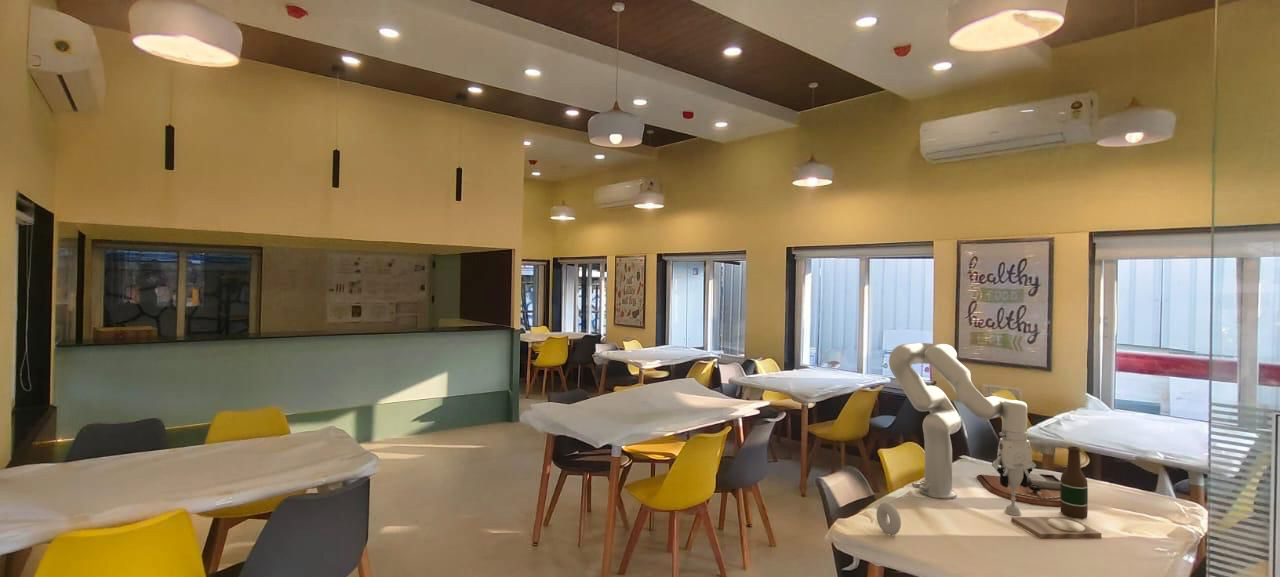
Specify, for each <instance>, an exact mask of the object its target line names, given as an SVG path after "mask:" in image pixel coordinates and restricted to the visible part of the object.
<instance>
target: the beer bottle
mask: <svg viewBox="0 0 1280 577" xmlns="http://www.w3.org/2000/svg"><path fill="white" fill-rule="evenodd" d="M1067 450H1068V452H1067V453H1068V454H1067V463H1066V464H1067V465H1066V469H1065V470H1064V471H1063V472H1062V473H1061V476H1060V480H1061V481H1060V507H1059V508H1060V513H1061V514H1062V515H1063V517H1070V518H1072V519H1074V520H1075V519H1076V520H1078V519H1079V520H1084V519H1085V520H1086V519H1087V518H1088V507H1089V506H1088V503H1089V502H1088V501H1089V499H1088V496H1089V494H1088V493H1089V492H1088V488H1089V486H1088V485H1089V484H1088V480H1087V477H1086V476H1085V474H1084V472H1083V471H1082V468H1081V467H1082V466H1081V448H1080V447H1078V446H1075V445H1074V446H1067Z"/></svg>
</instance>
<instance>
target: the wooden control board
mask: <svg viewBox="0 0 1280 577" xmlns="http://www.w3.org/2000/svg"><path fill="white" fill-rule="evenodd" d="M976 479H977V480H978V481H979V483H980V484H981V485H982V486H983V487H984V488H985V489H986V490H987V491H989V492H990V493H992V494H993V495H995V496H998V497H1000V498H1003V499H1006V500H1010V501H1011V499H1010V498H1011V497H1012V495H1011V492H1012V488H1010V487H1009V486H1008V487H1004V486H1002V485H1001V484H1000V475H990V474H989V475H987V474H978V475H976ZM1060 481H1061V479H1059V478H1058V477H1057V476H1056V475H1054V474H1046V473H1044V474H1043V473H1034V472H1030V473H1029V476H1027V487H1023V486H1021V485H1019V487H1018V488H1016V489H1015V494H1016V495H1015V499H1016V500H1015V502H1017V503H1021V504H1027V505H1032V506H1040V507H1050V508H1060Z"/></svg>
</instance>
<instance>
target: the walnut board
mask: <svg viewBox="0 0 1280 577" xmlns="http://www.w3.org/2000/svg"><path fill="white" fill-rule="evenodd" d="M1010 519H1011V520H1010V522H1011V523H1013V524H1014V525H1016V526H1019V527H1020V528H1021V527H1022V528H1021V529H1023V530H1024V531H1027V532H1029V533H1030V534H1032V535H1034V536H1035V537H1037V538H1039V539H1041V540H1042V539H1045V540H1046V539H1047V540H1048V539H1049V540H1050V539H1053V540H1054V539H1066V540H1067V539H1102V532H1099V531H1097V530H1096V529H1093V528H1091V527H1090V526H1088V525H1086V524H1084V523H1081V522H1079V521H1078V520H1077V519H1076V520H1075V518H1070V517H1067V516H1014V517H1013V516H1011V518H1010Z"/></svg>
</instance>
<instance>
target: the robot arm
mask: <svg viewBox="0 0 1280 577" xmlns="http://www.w3.org/2000/svg"><path fill="white" fill-rule="evenodd" d="M888 359H889V360H888V363H889V364H888V365H889V368H890V372H891V373H892V375H893V376H894V378H895V379H896V381H897V382H898V383H899V385H900V386H901V389H902V390H903V392H904V394H905V395H906V398H908V400H909V401H910V403H911V405H912V406H913V408H914V409H915V410H917V411H918V412H929V413H928V414H927V415H926V416H925V417H924V419H923V422H922V431H923V439H924V479H922V480H921V481H920V482H912V483H911V486H912V488H913V489H919V491H920V492H921V494H923V493H924V494H923V495H925V496H927V495H928V497H932V498H936V499H946V500H948V499H954V498H956V497H957V495H958V494H957V491H955V490H953V447H952V440H951V436H950V435H953V434H955V433H957V432H958V431H959V430H960V429H961V427H962V418H961V417H960V414H959V412H958V411H957V410H956V408H955V407H954V405H953V404H952V402H951V401H950V399H949V398H948V396H947V395H946V393H945V392H944V391H943V390H942V389H941V388H940V387H938V386H936V385H931V384H930V385H928V384H926V383H925V381H924V380H923V378H922V376H921V374H919V372H918V371H917V370H916V369H915V368H914V367H913V365H916V364H926V365H927V364H928V365H930V367H932V369H934V370H935V371H936V372H937V373H938V374H939V375H940V376H941V377H942V378H943V379H944V380H945V381H946V382H947V383H948V384H949V385H950V386H951V387H952V389H953V392H954V394H955V395H956V396H957V398H958V399H959V401H960V402H961V403H962V405H963V406H965V408H967V409H968V411H969V412H971V413H972V414H973V415H974V416H975V417H977V418H978V419H981V420H986V421H988V420H991V419H995V418H1001V419H1002V420H1001V421H1002V422H1001V432H998V436H999V437H1000V438H999V442H998V447H997V458H996V459H995V460H994V461H993V462H992V463H991V466H992V467H993V468H994V469H995V471H996V472H998V474H999V476H1000V484H1001V485H1002V486H1004V487H1008V476H1006V475H1007V473H1008V470H1009V469H1016V467H1014V465H1024V466H1023V467H1022V468H1021V469H1024V472H1023V479H1022V482H1021V484H1020V485H1021V486H1023V487H1027V476H1029V473H1032V472H1033V470H1034V469H1035V468H1036V467H1037V464H1036V463H1035V461H1033V454H1032V447H1031V443H1030V440H1029V439H1028V405H1027V403H1026V402H1024V401H1022V400H1017V399H1007V398H1003V397H999V396H996V395H991V396H987V397H985V396H984V395H983V394H982V393H981V391H979V390H978V389H977V388H976V387H975V385H974V384H973V382H972V380H971V377H972V376H971V375H972V374H971V370H969V369H968V367H966V366H965V365H964V364H963V363H961V362H960V360H958V353H957V351H956V349H955V348H954V347H953V346H952V345H950V344H946V343H930V342H928V343H925V342H912V343H904V344H903V343H902V344H900V345H899V344H898V346H895V347H894V348H893V350H892V351H891V352H890V354H889V358H888ZM1004 468H1005V469H1004Z"/></svg>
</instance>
